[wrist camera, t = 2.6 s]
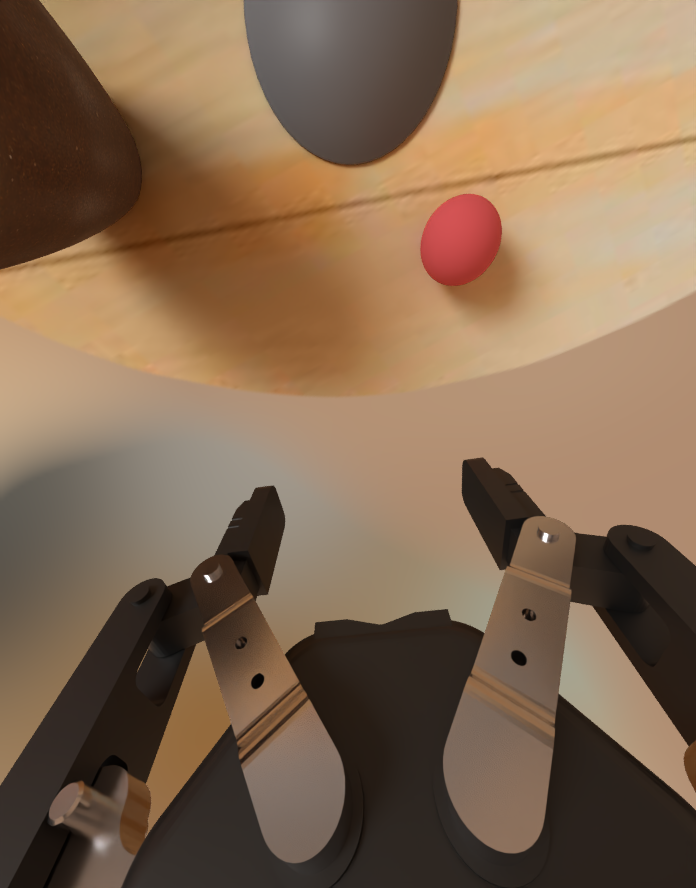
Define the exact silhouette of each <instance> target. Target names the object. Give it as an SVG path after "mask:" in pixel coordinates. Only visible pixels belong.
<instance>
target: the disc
mask: <svg viewBox="0 0 696 888" xmlns="http://www.w3.org/2000/svg"><path fill="white" fill-rule="evenodd" d="M456 14H457V0H244V16H245V24H246V32H247V39H248V44H249V48H250V53H251V58H252V61H253V64H254V68H255V71H256V74H257V78H258V80H259V82H260V85H261V87H262V90H263V92H264V95H265V97H266V99H267V101H268V103H269V104H270V106H271V108H272V110H273V112H274V114H275V115H276V117H277V118H278V120H279V121H280V123H281V124H282V126H283V127H284V128H285V129H286V130H287V132H288V133H289V134H290V135H291V136H292V137H293V138H294V139H295V140H296V141H297V142H298V143H299V144H300V145H301V146H302V147H304V148H305V149H307V150H308V151H309V152H311V153H312V154H314V155H316V156H318V157H320V158H322V159H324V160H327V161H330V162H333V163H338V164H346V165H351V164H362V163H366V162H370V161H373V160H375V159H378V158H380V157H382V156H384V155H386V154H387V153H389V152H391V151H392V150H394V149H395V148H396V147H397V146H399V145H400V144H401V143H402V142H403V141H404V140H405V139H406V138H407V137H408V136H409V135H410V134H411V133H412V132H413V131H414V129H415V128H416V127H417V126H418V124H419V123H420V122H421V120H422V119H423V117H424V115H425V114H426V112H427V110H428V109H429V107H430V105H431V104H432V102H433V99H434V97H435V95H436V93H437V91H438V89H439V87H440V84H441V81H442V78H443V76H444V73H445V70H446V67H447V63H448V60H449V56H450V52H451V48H452V42H453V37H454V32H455V24H456Z"/></svg>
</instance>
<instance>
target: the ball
mask: <svg viewBox="0 0 696 888" xmlns="http://www.w3.org/2000/svg"><path fill="white" fill-rule="evenodd" d="M501 235H502V226H501V220H500V217H499V214H498V212H497V210H496V208H495V207H494V206H493V204H492V203H491V202H490V201H488V200H487V199H486V198H484V197H482V196H479V195H475V194H463V195H459V196H456V197H453V198H451V199H449V200H447V201H446V202H444V203H443V204H442V205H441V206H440V207H439V208H437V210H436V211H435V212H434V213H433V214H432V216H431V217H430V218H429V220H428V222H427V224H426V226H425V229H424V231H423V235H422V239H421V259H422V262H423V265H424V268H425V269H426V271H427V273H428V274H429V275H430V276H431V277H432V278H433V279H434V280H436V281H437V282H439V283H441V284H444V285H449V286H458V285H463V284H466V283H468V282H470V281H472V280H474V279H476V278H477V277H479V276H480V275H481V274H482V273H483V272H484V271H485V270H486V269H487V268H488V267H489V266H490V264H491V263H492V261H493V260H494V258H495V256H496V254H497V252H498V249H499V246H500V242H501Z"/></svg>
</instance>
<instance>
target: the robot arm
mask: <svg viewBox="0 0 696 888" xmlns="http://www.w3.org/2000/svg"><path fill="white" fill-rule="evenodd" d="M462 496H463V500H464V503H465V506H466V507H467V509H468V511H469V513H470V515H471V517H472V519H473V521H474V522H475V524H476V526H477V528H478V530H479V532H480V534H481V536H482V538H483V539H484V541H485V543H486V545H487V547H488V549H489V551H490V552H491V554H492V556H493V558H494V560H495V562H496V563H497V566H498V568H499V569H500V570H504V569H505V573H504V576H503V579H502V582H501V585H500V588H499V591H498V594H497V597H496V600H495V603H494V606H493V610H492V612H491V615H490V618H489V621H488V624H487V627H486V630H485V633H483V632H482V631H480V630H478V629H476V628H474V627H472V626H469V625H467V624H464V623H461V622H457V621H452V620H451V619H450V615H449V613H448V609H445V610H435V611H425V612H415V613H412V614H409V615H407V616H404V617H401V618H399V619H396V620H394V621H391V622H388V623H386V624H382V625H378V624H372V623H365V622H360V621H354V620H348V619H346V620H336V621H326V622H316V623H315V631H314V634H313V635H311V636H309V637H307V638H305V639H303V640H302V641H300V642H298V643H297V644H296V645H295V646H293V647H292V648H291V649H290V650H289V651H288V652H287V653H286V654H285V655H284V653H283V651H282V649H281V647H280V645H279V644H278V642H277V640H276V638H275V636H274V634H273V633H272V631H271V629H270V627H269V625H268V623H267V622H266V620H265V618H264V616H263V614H262V612H261V611H260V609H259V607H258V605H257V603H256V598H257V596H259V595H267V594H268V592H269V588H270V584H271V580H272V576H273V572H274V568H275V564H276V560H277V556H278V552H279V547H280V544H281V540H282V536H283V532H284V528H285V515H284V511H283V508H282V505H281V502H280V500H279V497H278V494H277V491H276V488H275V487H274V486H265V487H258V488H255V490H254V492H253V494H252V497H251V499H250V500H248V501H244V502H243V503H242V504H241V505H240V507H238V508H237V510H236V512H235V514H234V516H233V518H232V521H231V522H230V524H229V526H228V529H227V530H226V533H225V534H224V536H223V539H222V541H221V543H220V545H219V547H218V549H217V551H216V553H215V555H214V556H212V557H210V558H208V559H206V560H205V561H203V562H202V563H201V564H200V565H198V567H197V568H196V569H195V570H194V572H193V573H192V575H191V577H190V578H189V579H185V580H183V581H180V582H178V583H175V584H172V585H170V586H166V585H165V583H164V582H163V580H161V579H157V578H154V579H149V580H146V581H144V582H141V583H140V584H138V585H136V586H135V587H133V588H132V589H131V590H130V591H129V592H127V593H126V594H125V596H124V597H123V598H122V599H121V601H120V602H119V604H118V605H117V607H116V608H115V610H114V611H113V613H112V614H111V616H110V617H109V619H108V621H107V622H106V624H105V625H104V627H103V628H102V630H101V631H100V633H99V634H98V636H97V638H96V639H95V641H94V642H93V644H92V645H91V647H90V648H89V650H88V651H87V653H86V655H85V656H84V658H83V659H82V661H81V662H80V664H79V665H78V667H77V668H76V670H75V671H74V673H73V674H72V676H71V678H70V679H69V681H68V682H67V684H66V685H65V687H64V688H63V690H62V691H61V693H60V695H59V696H58V698H57V699H56V701H55V702H54V704H53V705H52V707H51V708H50V710H49V712H48V713H47V715H46V716H45V718H44V719H43V721H42V722H41V724H40V725H39V727H38V728H37V730H36V731H35V733H34V735H33V736H32V738H31V739H30V741H29V742H28V744H27V745H26V747H25V749H24V750H23V752H22V753H21V755H20V756H19V758H18V759H17V761H16V762H15V764H14V765H13V767H12V768H11V770H10V772H9V773H8V775H7V776H6V778H5V779H4V781H3V782H2V784H1V785H0V888H696V810H695V809H694V808H693V807H692V806H691V805H690V804H689V803H688V802H686V800H685V799H683V798H682V797H681V796H680V795H679V794H678V793H677V792H675V791H674V790H673V789H672V788H671V787H670V786H668V785H667V784H666V783H665V782H664V781H662V780H661V779H660V778H659V777H658V776H656V775H655V774H654V773H653V772H652V771H650V770H649V769H648V768H647V767H646V766H644V765H643V764H642V763H641V762H640V761H638V760H637V759H636V758H635V757H634V756H632V755H631V754H630V753H629V752H628V751H627V750H625V749H624V748H623V747H622V746H620V745H619V744H618V743H617V742H616V741H615V740H613V739H612V738H611V737H610V736H609V735H607V734H606V733H605V732H604V731H603V730H601V729H600V728H599V727H598V726H597V725H595V724H594V723H593V722H592V721H591V720H589V719H588V718H587V717H586V716H584V715H583V714H582V713H581V712H580V711H579V710H577V709H576V708H575V707H574V706H573V705H571V704H570V703H569V702H568V701H567V700H566V699H564V698H563V697H562V696H561V695H560V694H558V692H559V685H560V676H561V669H562V661H563V653H564V646H565V638H566V630H567V623H568V615H569V607H570V602H575V603H581V604H586V605H592V606H593V608H594V609H595V610H596V612H597V613H598V615H599V616H600V618H601V619H602V621H603V622H604V623H605V625H606V626H607V628H608V629H609V631H610V632H611V634H612V635H613V636H614V638H615V640H616V641H617V642H618V644H619V645H620V647H621V648H622V650H623V651H624V653H625V654H626V656H627V657H628V658H629V660H630V661H631V663H632V664H633V666H634V667H635V669H636V670H637V672H638V673H639V674H640V676H641V677H642V679H643V680H644V682H645V683H646V685H647V686H648V688H649V689H650V690H651V692H652V693H653V695H654V696H655V698H656V699H657V701H658V702H659V704H660V705H661V706H662V708H663V709H664V711H665V712H666V714H667V715H668V717H669V718H670V719H671V721H672V723H673V724H674V725H675V727H676V728H677V730H678V731H679V733H680V734H681V736H682V737H683V739H684V740H685V741H686V742H687V744H688V746H689V747H688V748H687V749H686V751H685V754H684V766H685V771H686V773H687V776H688V778H689V781H690V782H691V784H692V786H693V788H694V790H695V792H696V566H695V565H694V564H693V563H692V562H691V561H689V560H688V559H687V558H686V557H685V556H684V555H682V554H681V553H680V552H679V551H678V550H677V549H676V548H674V547H673V546H672V545H671V544H670V543H669V542H668V541H666V540H665V539H664V538H663V537H661V536H659V535H658V534H656V533H654V532H652V531H650V530H647V529H644V528H641V527H637V526H632V525H617V526H614V527H612V528H611V529H610V530H609V531H608V534H607V537H604V536H595V535H587V534H579V533H574V532H573V530H572V529H571V528H570V527H569V526H568V525H566V524H565V523H563V522H561V521H559V520H557V519H554V518H550V517H546V516H545V515H544V514H543V512H542V511H541V510H540V509H539V508H538V506H537V505H536V504H535V503H534V502H533V501H532V499H531V498H530V497H529V496H528V495H527V494H526V492H524V491H523V489H522V488H521V487H520V485H518V484H517V482H516V481H515V479H514V478H513V477H512V476H511V475H510V474H509V473H507V472H505V471H503V470H502V469H500V468H493V469H492V468H491V466H490V465H489V464H488V463H487V462H486V460H485V459H484V458H476V459H468V460H464V461H463V465H462ZM204 640H205V642H206V646H207V649H208V651H209V655H210V658H211V661H212V664H213V668H214V671H215V674H216V677H217V680H218V683H219V686H220V690H221V693H222V696H223V699H224V702H225V705H226V709H227V712H228V715H229V718H230V721H231V725H230V726H229V727H228V729H227V730H226V731H225V733H224V734H223V735H222V737H221V738H220V739H219V740H218V742H217V743H216V744H215V746H214V747H213V748H212V750H211V751H210V752H209V754H208V755H207V756H206V758H205V759H204V760H203V761H202V763H201V764H200V765H199V767H198V768H197V769H196V771H195V772H194V773H193V775H192V776H191V777H190V778H189V780H188V781H187V782H186V784H185V785H184V786H183V788H182V789H181V790H180V792H179V793H178V794H177V795H176V797H175V798H174V799H173V801H172V802H171V803H170V805H169V806H168V807H167V809H166V810H165V811H164V813H163V814H162V815H161V816H160V818H159V819H158V821H157V822H156V823H155V825H154V826H153V828H152V829H151V830H150V832H149V833H148V835H147V831H148V817H149V813H150V808H151V794H150V790H149V788H148V787H147V785H146V782H147V779H148V776H149V774H150V771H151V768H152V765H153V763H154V760H155V757H156V754H157V751H158V749H159V746H160V743H161V740H162V737H163V735H164V732H165V729H166V726H167V724H168V721H169V718H170V715H171V712H172V710H173V707H174V704H175V701H176V699H177V696H178V693H179V690H180V687H181V685H182V682H183V679H184V676H185V674H186V671H187V668H188V665H189V662H190V660H191V657H192V654H193V651H194V649H195V646H196V644H197V643H199V642H202V641H204ZM147 649H148V651H147ZM146 651H147V654H146V656H145V658H144V660H143V662H142V664H141V666H140V663H141V661H142V659H143V657H144V655H145V653H146ZM139 666H140V668H139ZM138 668H139V670H138ZM137 670H138V672H137ZM146 835H147V837H146ZM145 837H146V838H145Z"/></svg>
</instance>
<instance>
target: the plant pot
mask: <svg viewBox="0 0 696 888" xmlns="http://www.w3.org/2000/svg"><path fill="white" fill-rule="evenodd" d="M141 181H142V171H141V164H140V158H139V154H138V151H137V148H136V145H135V142H134V139H133V137H132V135H131V133H130V131H129V129H128V128H127V126H126V124H125V122H124V120H123V119H122V117H121V115H120V114H119V112H118V110H117V108H116V107H115V105H114V104H113V102H112V101H111V99H110V97H109V96H108V94H107V93H106V91H105V90H104V88H103V87H102V85H101V84H100V82H99V81H98V79H97V78H96V76H95V75H94V73H93V72H92V71H91V69H90V68H89V66H88V65H87V63H86V62H85V60H84V59H83V58H82V56H81V55H80V54H79V52H78V51H77V49H76V48H75V47H74V45H73V44H72V43H71V41H70V40H69V38H68V37H67V36H66V35H65V33H64V32H63V31H62V29H61V28H60V27H59V25H58V24H57V23H56V21H55V20H54V19H53V17H52V16H51V15H50V14H49V12H48V11H47V10H46V8H45V7H44V6H43V5H42V3H41V2H40V1H39V0H0V269H4V268H7V267H11V266H15V265H18V264H21V263H25V262H28V261H31V260H34V259H37V258H40V257H43V256H46V255H49V254H52V253H55V252H57V251H60V250H62V249H65V248H67V247H70V246H72V245H75V244H77V243H79V242H81V241H83V240H85V239H88V238H89V237H91V236H93V235H95V234H97V233H99V232H101V231H102V230H104V229H106V228H107V227H109V226H110V225H112V224H113V223H115V222H116V221H117V220H119V219H120V218H121V217H122V216H123V215H125V214H126V213H127V212H128V211H129V210H130V209H131V208H132V207H133V205H134V204H135V202H136V201H137V198H138V196H139V193H140V188H141Z"/></svg>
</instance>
